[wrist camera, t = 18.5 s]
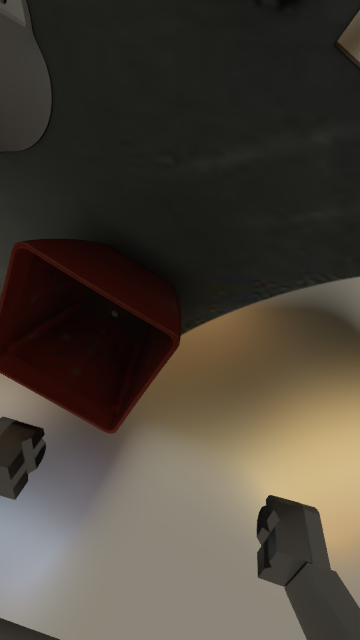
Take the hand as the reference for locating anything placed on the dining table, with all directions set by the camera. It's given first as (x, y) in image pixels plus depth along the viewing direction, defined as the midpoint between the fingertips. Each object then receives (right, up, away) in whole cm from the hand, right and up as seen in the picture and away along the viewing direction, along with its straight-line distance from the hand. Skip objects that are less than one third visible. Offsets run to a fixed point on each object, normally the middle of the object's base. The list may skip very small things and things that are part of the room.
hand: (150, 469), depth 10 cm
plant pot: (-8, +9, +38) cm, 40 cm away
